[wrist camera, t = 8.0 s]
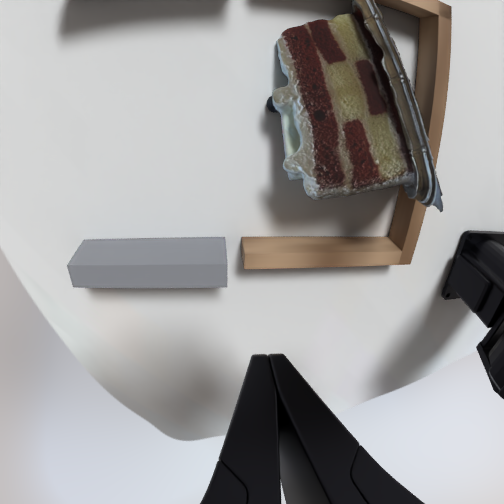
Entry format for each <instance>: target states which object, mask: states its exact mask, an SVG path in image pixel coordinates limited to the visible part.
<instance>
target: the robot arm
mask: <svg viewBox="0 0 504 504" xmlns="http://www.w3.org/2000/svg"><path fill="white" fill-rule="evenodd" d="M441 296H442V297H443V298H444V299H445V300H448V299H456V298H461V299H462V300H463V301H464V302H465V304H466V305H467V306H468V307H469V308H470V309H471V311H472V312H473V313H476V315H477V316H478V317H479V318H480V319H481V321H482V322H483V323H484V324H485V326H486V327H487V328H491V329H490V330H489V332H488V333H487V335H486V336H485V337H484V339H483V340H482V341H481V342H480V343H479V344H478V345H477V347H476V348H477V350H478V353H479V355H480V358H481V360H482V362H483V365H484V367H485V369H486V372H487V374H488V377H489V379H490V382H491V385H492V387H493V390H494V391H495V392H496V393H498V394H499V395H500V397H502V398H503V399H504V232H492V231H466V232H465V233H464V235H463V237H462V240H461V243H460V246H459V249H458V252H457V255H456V257H455V260H454V263H453V266H452V268H451V271H450V274H449V276H448V279H447V281H446V284H445V286H444V289H443V291H442V294H441ZM280 479H281V482H280ZM281 483H282V488H283V492H284V496H285V500H286V504H424V503H423V502H422V501H421V500H419V499H418V498H417V497H416V496H414V495H413V494H412V493H411V492H410V491H408V490H407V489H406V488H405V487H404V486H402V485H401V484H400V483H399V482H397V481H396V480H395V479H394V478H392V476H390V474H388V473H387V472H386V471H385V470H384V469H383V468H382V467H381V466H380V465H379V464H378V463H377V462H376V461H375V460H374V459H373V458H372V457H371V456H370V455H369V454H368V452H367V451H366V450H365V449H364V448H363V447H362V446H361V445H360V446H359V443H358V441H357V440H356V439H355V438H354V437H353V435H352V434H351V433H350V432H349V431H348V430H347V429H346V427H345V426H344V425H343V424H342V423H341V422H340V421H339V419H338V418H337V417H336V416H335V415H334V414H333V412H332V411H331V410H330V409H329V408H328V407H327V405H326V404H325V403H324V402H323V401H322V400H321V398H320V397H319V396H318V395H317V394H316V392H315V391H314V390H313V389H312V388H311V386H310V385H309V384H308V383H307V382H306V380H305V379H304V378H303V377H302V376H301V374H300V373H299V372H298V371H297V370H296V368H295V367H294V366H293V365H292V364H291V362H290V361H289V360H288V359H287V358H286V356H285V355H284V354H269V355H268V356H267V355H266V354H255V355H252V357H251V360H250V363H249V366H248V369H247V372H246V376H245V379H244V382H243V385H242V388H241V392H240V395H239V398H238V401H237V404H236V407H235V410H234V413H233V417H232V420H231V423H230V426H229V429H228V432H227V435H226V438H225V441H224V445H223V447H222V450H221V453H220V456H219V461H218V462H217V464H216V468H215V470H214V473H213V476H212V479H211V481H210V484H209V486H208V489H207V491H206V493H205V495H204V497H203V500H202V501H201V503H200V504H281Z"/></svg>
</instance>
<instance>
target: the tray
mask: <svg viewBox="0 0 504 504" xmlns="http://www.w3.org/2000/svg"><path fill="white" fill-rule="evenodd" d="M374 1H375V3H376V4H380V5H383V6H386V7H390V8H393V9H396V10H399V11H402V12H404V13H407V14H410V15H413V16H416V17H418V18H420V19H419V46H418V62H417V75H416V85H415V95H414V96H415V98H416V99H417V101H418V105H419V109H420V112H421V114H422V117H423V119H424V121H423V122H424V124H425V127H426V131H427V134H428V137H429V141H428V142H429V145H430V147H431V148H430V150H431V154H432V156H433V158H434V159H433V163H434V167H435V168H436V163H437V158H438V153H439V147H440V141H441V135H442V129H443V122H444V115H445V108H446V100H447V91H448V81H449V69H450V53H451V6H449V5H447V4H445V3H442V2H440V1H438V0H374ZM426 207H427V206H426ZM426 207H425V206H424V205H423V204H421V203H420V202H419V201H418V200H416V199H412V198H409V197H408V195H407V193H406V192H405V191H404V188H403V186H402V185H400V189H399V194H398V199H397V203H396V208H395V212H394V216H393V221H392V225H391V229H390V233H389V237H242V244H241V253H242V259H243V265H244V269H277V268H316V267H350V266H379V265H405V264H410V263H411V260H412V257H413V254H414V250H415V247H416V244H417V240H418V237H419V233H420V230H421V226H422V223H423V219H424V215H425V211H426Z"/></svg>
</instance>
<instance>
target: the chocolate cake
mask: <svg viewBox="0 0 504 504" xmlns="http://www.w3.org/2000/svg"><path fill="white" fill-rule="evenodd" d="M352 8H353V13H352V14H344V15H337V16H336V17H335V18H334V19H332V20H323V19H321V20H316V21H313V22H307V23H306V24H304V25H302V26H298V27H293V28H289V29H287V30H285V31H284V32H283V33H282V34H281V37H280V38H279V39H278V40H277V41H276V43H277V46H278V52H279V53H278V57H279V59H280V63H281V68H282V72H283V73H284V74H285V75H286V76H287V77H288V85H287V86H285V87H280V88H277V89H275V90H274V91H273V93H272V96H271V97H269V99H268V100H267V108H268V109H269V110H270V111H271V112H276V113H280V114H281V123H282V134H283V140H284V151H285V158H286V159H285V160H284V163H283V169H284V170H285V171H287V174H288V177H289V180H297V179H302V178H303V186H304V189H305V192H306V194H307V195H308V196H309V197H311V198H312V199H314V200H319V199H327V198H334V197H338V196H344V197H347V196H349V195H353V194H358V193H360V192H366V191H373V190H378V189H383V188H388V187H393V186H396V185H402V186H403V188H404V191H405V192H406V193H407V195H408V197H409V198H412V199H416V200H418V201H419V202H420V203H421V204H423V205H424V206H425V207H426V206H427V207H430V205H433V206H436V207H437V209H439V210H440V212H442V211H443V204H442V200H441V196H442V192H441V189H440V185H439V182H438V179H437V175H436V171H435V167H434V163H433V159H434V158H433V156H432V154H431V150H430V148H431V147H430V145H429V142H428V141H429V137H428V134H427V131H426V127H425V124H424V122H423V121H424V119H423V117H422V114H421V112H420V109H419V105H418V101H417V99H416V98H415V96H414V92H413V89H412V87H411V85H410V80H409V79H408V77H407V74H406V72H405V69H404V67H403V64H402V61H401V58H400V54H399V52H398V50H397V47H396V45H395V42H394V40H393V38H391V37H390V34H389V32H388V30H387V28H386V25H385V24H384V22H383V20H382V19H383V16H382V13H381V12H380V9H379V8H378V7H377V5H376V4H375V1H374V0H353V1H352Z"/></svg>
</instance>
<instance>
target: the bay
mask: <svg viewBox="0 0 504 504" xmlns="http://www.w3.org/2000/svg"><path fill="white" fill-rule="evenodd" d="M67 267H68V271H69V274H70V278H71V281H72V285H73V287H79V288H217V287H227V254H226V242H225V237H197V238H139V239H96V240H83V242H82V243H81V245H80V246H79V248H78V249H77V251H76V252H75V254H74V255H73V257H72V258H71V260H70V262H69V263H68V265H67Z"/></svg>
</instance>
